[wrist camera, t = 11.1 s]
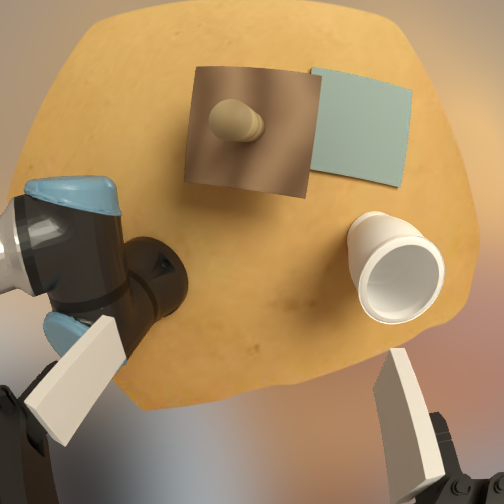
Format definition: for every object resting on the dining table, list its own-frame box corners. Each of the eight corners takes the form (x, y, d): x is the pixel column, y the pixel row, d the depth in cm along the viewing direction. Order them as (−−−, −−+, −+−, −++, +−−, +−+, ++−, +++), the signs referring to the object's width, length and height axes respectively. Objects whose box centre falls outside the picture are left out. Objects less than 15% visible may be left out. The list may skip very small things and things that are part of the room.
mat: (300, 167, 38) (300, 167, 37) (311, 68, 32) (311, 66, 31) (399, 186, 36) (400, 187, 35) (410, 91, 30) (412, 90, 30)
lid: (187, 180, 32) (145, 196, 23) (199, 69, 27) (160, 44, 18) (305, 196, 31) (308, 219, 22) (321, 78, 26) (331, 49, 16)
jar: (356, 192, 38) (386, 220, 24) (413, 219, 37) (460, 256, 24) (329, 256, 42) (341, 311, 28) (385, 278, 42) (414, 334, 28)
